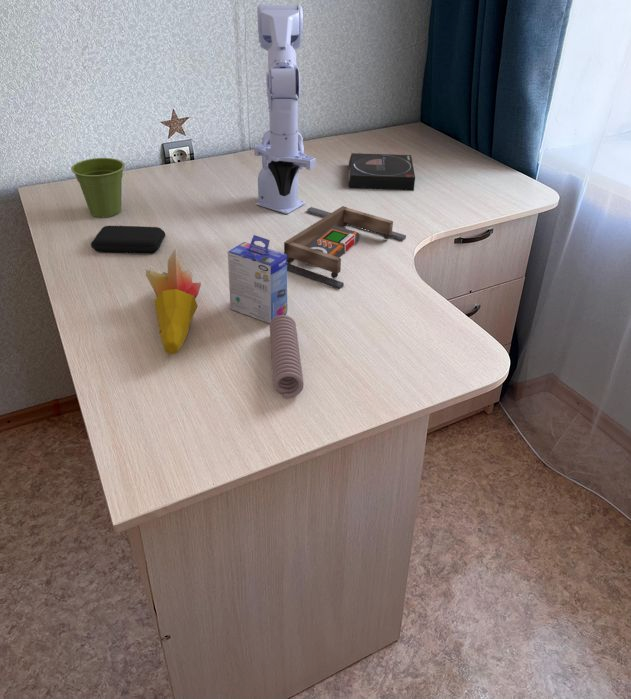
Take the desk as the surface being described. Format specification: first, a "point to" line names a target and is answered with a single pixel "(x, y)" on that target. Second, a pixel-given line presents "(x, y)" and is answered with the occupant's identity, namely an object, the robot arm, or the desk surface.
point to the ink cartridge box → (258, 280)
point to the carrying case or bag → (128, 239)
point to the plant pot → (101, 184)
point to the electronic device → (335, 241)
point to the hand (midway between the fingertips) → (284, 194)
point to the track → (322, 278)
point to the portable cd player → (381, 172)
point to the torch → (174, 302)
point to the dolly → (339, 217)
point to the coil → (285, 356)
